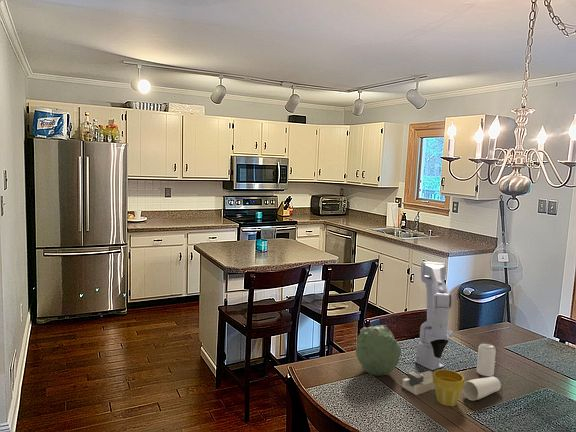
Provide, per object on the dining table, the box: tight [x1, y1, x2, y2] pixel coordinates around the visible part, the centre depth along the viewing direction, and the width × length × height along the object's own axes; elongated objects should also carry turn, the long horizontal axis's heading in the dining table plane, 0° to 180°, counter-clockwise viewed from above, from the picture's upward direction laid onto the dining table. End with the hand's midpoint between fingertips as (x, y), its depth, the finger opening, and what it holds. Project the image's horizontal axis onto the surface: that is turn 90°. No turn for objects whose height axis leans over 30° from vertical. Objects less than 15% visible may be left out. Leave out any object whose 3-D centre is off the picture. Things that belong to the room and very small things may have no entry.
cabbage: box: [355, 324, 402, 377], centre depth 176 cm, size 16×19×20 cm
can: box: [476, 342, 496, 378], centre depth 180 cm, size 6×6×12 cm
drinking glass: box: [462, 375, 502, 402], centre depth 163 cm, size 7×7×15 cm
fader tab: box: [406, 370, 423, 387], centre depth 165 cm, size 5×3×4 cm, turn 32°
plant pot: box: [432, 368, 465, 407], centre depth 157 cm, size 10×10×10 cm
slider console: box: [401, 370, 435, 396], centre depth 168 cm, size 7×15×3 cm, turn 123°
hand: (437, 357), depth 172 cm, fingers closed
